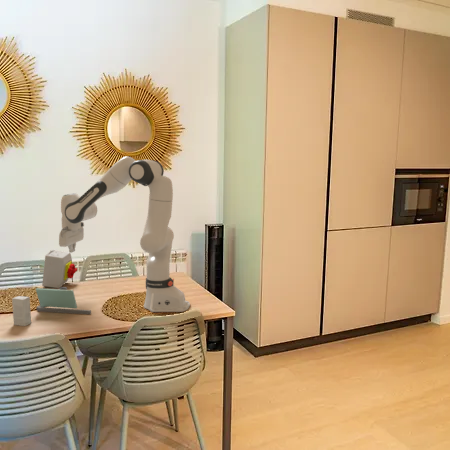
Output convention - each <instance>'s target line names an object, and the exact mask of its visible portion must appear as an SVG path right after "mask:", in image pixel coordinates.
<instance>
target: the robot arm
mask: <svg viewBox="0 0 450 450" xmlns="http://www.w3.org/2000/svg"><path fill="white" fill-rule="evenodd" d="M164 173H165V170H164V167H163V165H162V163H161V162H159V161H157V160H153V159H139V160H136V159H134V158H133V157H131V156H123V157H121V158H120V159H119V160H118V161H116V162H115V163H114V164H113V165H112V166H111V167H110V168H109V169H107V171H106V172H105V173H104V174H103V175H102V176H101V177H100V178H99V179H98V180H97V182H95V183H94V184H93V185H92V186H90V188H88V190H86V191H85V192H84V193H83V194H82V195H81V196H80V195H79V194H78V193H77V192H76V193H68V194H64V195H62V196H61V199H60V200H61V201H60V212H61V230H60V231H59V235H58V245H59V247H61V248H62V247H63V248H65V247H66V248H68V252H69V253H70V254H71V253H75V251H76V245H77V243H78V242H81V241H82V240H84V235H85V233H84V227H85V223H84V221H88V220H92V219H94V218H96V216H97V214H98V207H97V204H96V202H97V201H98V200H100V199H102V198H104V197H106V196H108V195H111V194H115V193H118V192H119V191H121V190H123V189H124V188H125V187H126V186H127V185H129V183H130V182H131V181H134V182H135V183H137V184H140V185H142V186H144V187H148V188H149V195H148V208H147V209H148V210H147V216H146V221H145V225H144V228H143V233H142V235H141V238H140V242H139V243H140V247H141V249H142V250H143V251H144V252H145V253H147V254H148V257H147V259H146V278H145V289H146V291H145V292H146V294H145V299H144V304H143V308H144V309H146V310H149V311H150V312H151V313H175V312H176V313H178V312H179V313H180V312H181V313H182V312H185V311H187V310H188V309H189V308H190V306H191V303H190V301H188V300H186V296H185V292H184V291H182V290H181V289H180V288H178V287H177V286H175V285H174V284H175V283H174V281H175V278H172V277H171V276H170V261H171V253H172V246H173V242H174V241H173V240H174V236H175V235H174V231H173V229H171V228H170V227H169V223H170V220H171V218H172V211H173V196H174V193H173V182H172V179H171V178H170V177H167V176H165V175H164Z"/></svg>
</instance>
